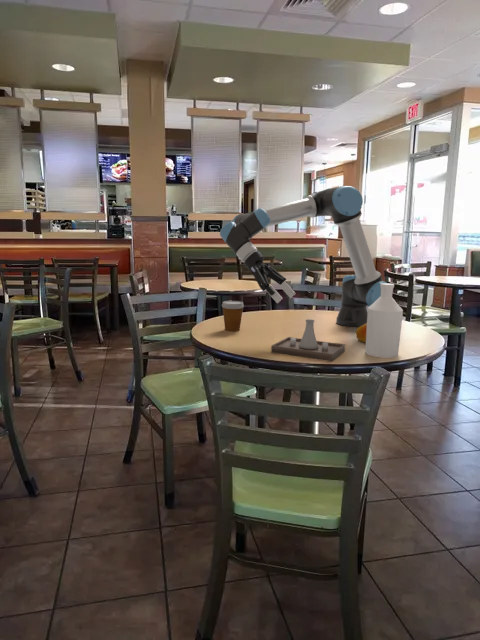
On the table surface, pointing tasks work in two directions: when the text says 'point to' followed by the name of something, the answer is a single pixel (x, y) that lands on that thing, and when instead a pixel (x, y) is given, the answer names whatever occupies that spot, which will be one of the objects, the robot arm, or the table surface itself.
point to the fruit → (361, 333)
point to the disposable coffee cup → (232, 315)
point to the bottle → (384, 325)
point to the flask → (309, 336)
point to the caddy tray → (322, 353)
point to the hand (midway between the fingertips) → (286, 298)
